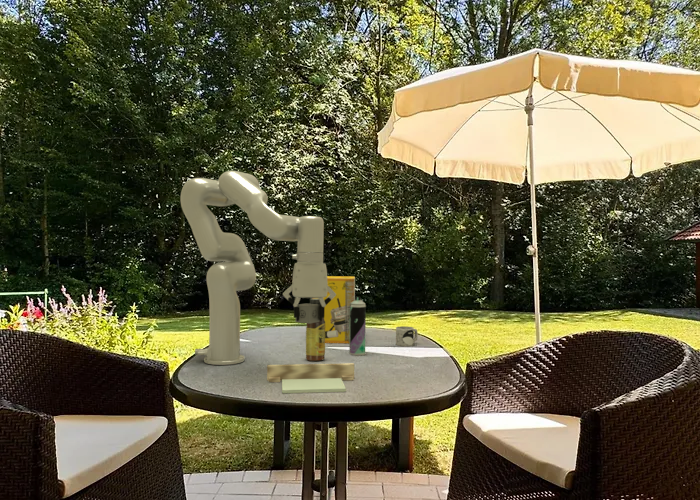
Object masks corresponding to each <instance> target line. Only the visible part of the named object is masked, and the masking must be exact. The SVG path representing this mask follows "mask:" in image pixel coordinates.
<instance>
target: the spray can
mask: <svg viewBox="0 0 700 500" xmlns="http://www.w3.org/2000/svg"><path fill="white" fill-rule="evenodd" d="M366 308H367V305H366V303H365V302H364V301H363V300H362V298H361V296H359V295H358V296H357V295H355V300H354V301H353V302H351V303H350V343H348V345H349V349H348V350H349V352H348V353H349V355H350V356H353V357H354V356H356V357H359V356H361V355H362V356H366V317H367V316H366Z"/></svg>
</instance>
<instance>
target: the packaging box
mask: <svg viewBox="0 0 700 500" xmlns="http://www.w3.org/2000/svg"><path fill="white" fill-rule="evenodd" d="M327 285H328V286H329V287H330V288H331V289H332V290H333V291H334V292H335V293H336V296H335V297H334V298H333V299H332V300H331V301H330V302H329V303H328V304H327V305H326V306H325V312H324V320H325V344H349V343H350V303H351V302H353V301H354V300H355V296H356V294H355V293H356V286H355V285H356V277H355V276H350V275H349V276H346V275H345V276H342V275H341V276H336V275H335V276H334V275H331V276H329V275H327ZM329 295H330V293H329V292H328V291H327V296H326V297H323V299H324V300H325V299H326V298H327V297H328V296H329ZM311 299H319V298H311Z"/></svg>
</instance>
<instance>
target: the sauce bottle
mask: <svg viewBox="0 0 700 500" xmlns="http://www.w3.org/2000/svg"><path fill="white" fill-rule="evenodd" d="M309 304H318V305H320V304H321V303H320V301H319V299H312V298H309ZM305 329H306V330H305V360H306V361H310V362H318V361H323V360H325V354H326V343H325V320H324V318H322V321H319V322H315V323H310V324H308V323H306V326H305Z"/></svg>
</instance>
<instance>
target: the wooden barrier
mask: <svg viewBox="0 0 700 500" xmlns="http://www.w3.org/2000/svg"><path fill="white" fill-rule="evenodd" d="M266 370H267V371H266V381H268V383H280V382H281V381H282V379H325V378H341V379H342V381H343V382H345V381H354V379H355V363H354V362H351V363H350V362H346V363H302V364H301V363H298V364H297V363H296V364H267V367H266Z"/></svg>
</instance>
